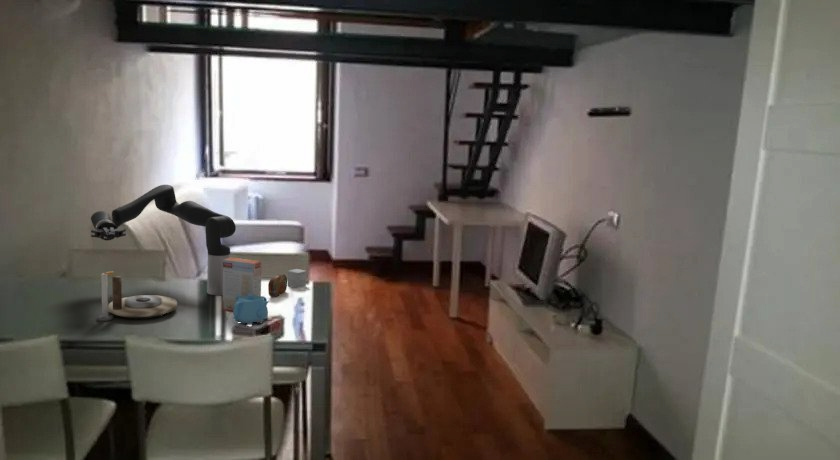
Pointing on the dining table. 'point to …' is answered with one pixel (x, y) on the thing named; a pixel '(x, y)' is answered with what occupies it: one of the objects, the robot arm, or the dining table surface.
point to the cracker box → (240, 280)
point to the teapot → (250, 308)
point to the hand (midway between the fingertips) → (111, 236)
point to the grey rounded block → (296, 278)
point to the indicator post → (105, 298)
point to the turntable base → (142, 317)
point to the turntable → (138, 303)
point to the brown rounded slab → (277, 286)
